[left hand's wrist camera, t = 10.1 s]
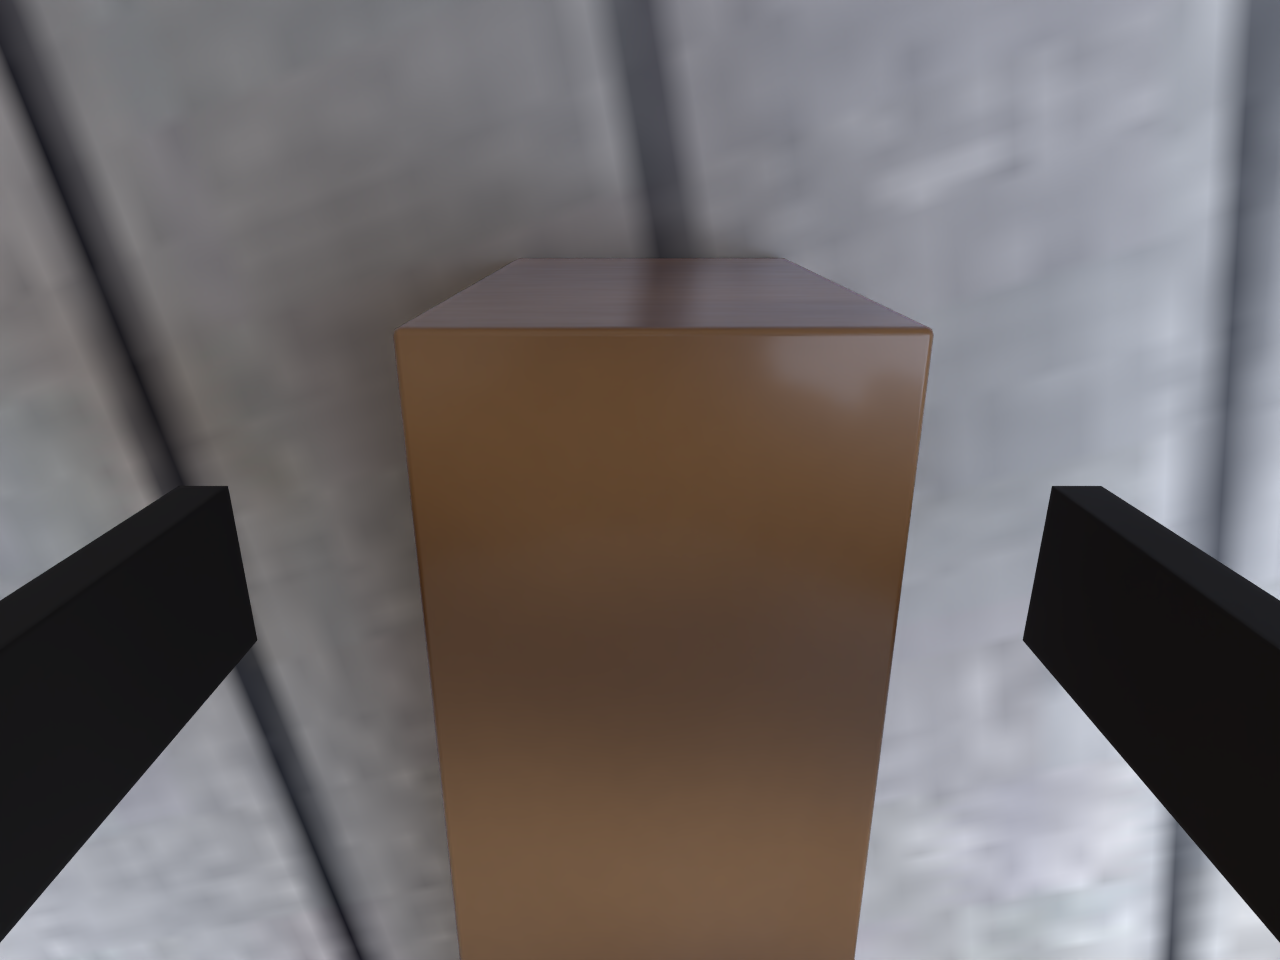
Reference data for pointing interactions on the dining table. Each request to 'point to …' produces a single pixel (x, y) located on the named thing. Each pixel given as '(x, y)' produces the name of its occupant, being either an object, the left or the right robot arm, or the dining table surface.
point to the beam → (660, 598)
